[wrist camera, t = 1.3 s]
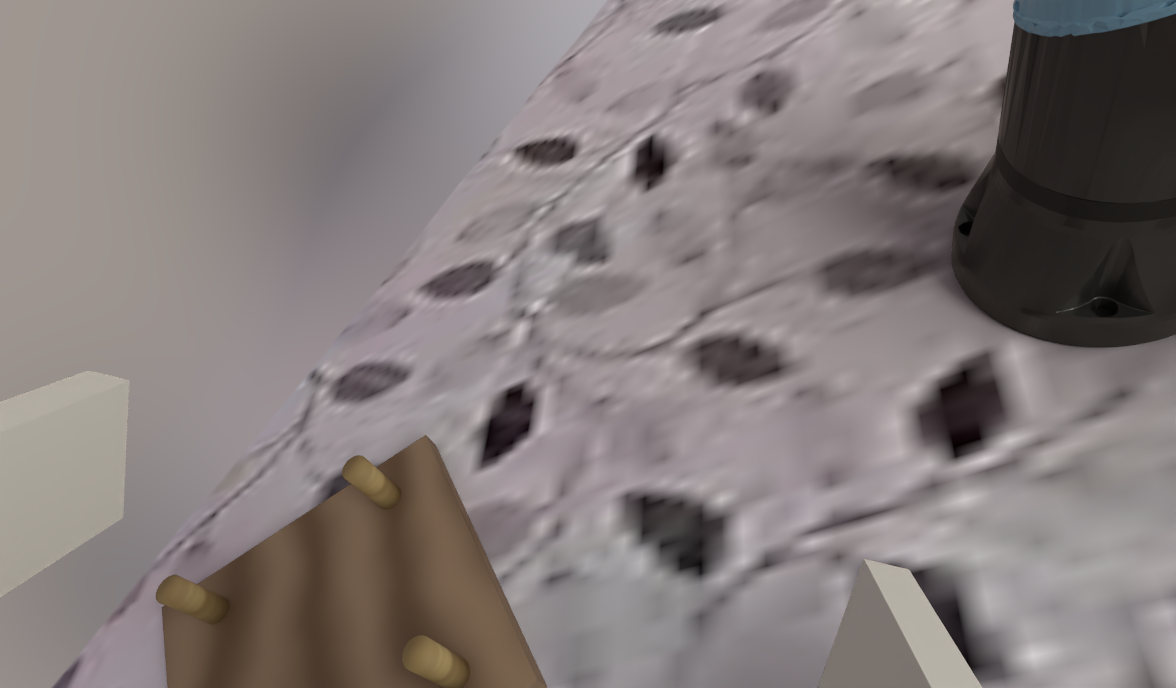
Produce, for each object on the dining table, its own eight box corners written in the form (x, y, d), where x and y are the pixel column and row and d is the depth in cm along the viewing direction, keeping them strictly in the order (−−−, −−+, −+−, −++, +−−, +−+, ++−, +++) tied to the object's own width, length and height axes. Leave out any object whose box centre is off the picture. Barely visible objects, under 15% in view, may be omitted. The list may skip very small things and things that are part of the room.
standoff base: (435, 444, 53) (394, 402, 49) (547, 687, 40) (505, 659, 36) (177, 613, 51) (110, 586, 47) (205, 927, 38) (115, 930, 34)
